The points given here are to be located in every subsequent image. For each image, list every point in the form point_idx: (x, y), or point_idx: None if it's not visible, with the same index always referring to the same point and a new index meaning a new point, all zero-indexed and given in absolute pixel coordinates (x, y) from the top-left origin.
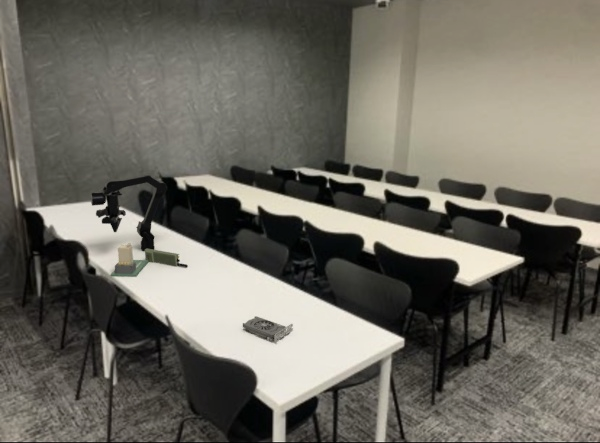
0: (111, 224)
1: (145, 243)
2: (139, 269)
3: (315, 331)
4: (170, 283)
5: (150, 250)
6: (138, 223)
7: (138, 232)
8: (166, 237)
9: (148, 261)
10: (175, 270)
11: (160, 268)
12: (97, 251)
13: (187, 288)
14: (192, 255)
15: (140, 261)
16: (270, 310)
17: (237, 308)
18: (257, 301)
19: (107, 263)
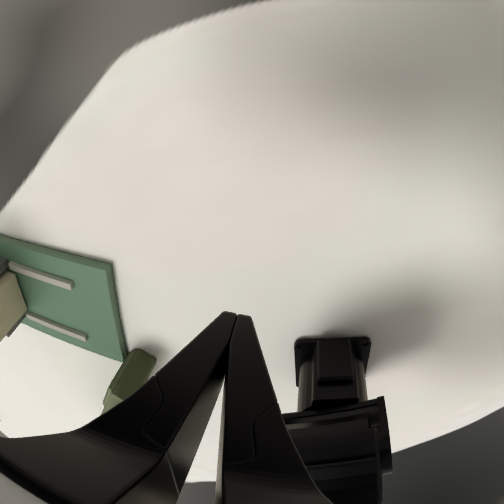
0: (109, 426)
1: (301, 391)
2: (32, 325)
3: (8, 429)
4: (15, 370)
5: (108, 407)
6: (372, 501)
7: (305, 444)
8: (480, 395)
9: (125, 357)
10: (81, 399)
11: (80, 375)
12: (345, 19)
13: (14, 386)
14: (217, 452)
15: (99, 335)
16: (19, 428)
17: (4, 408)
18: (30, 431)
19: (71, 170)
